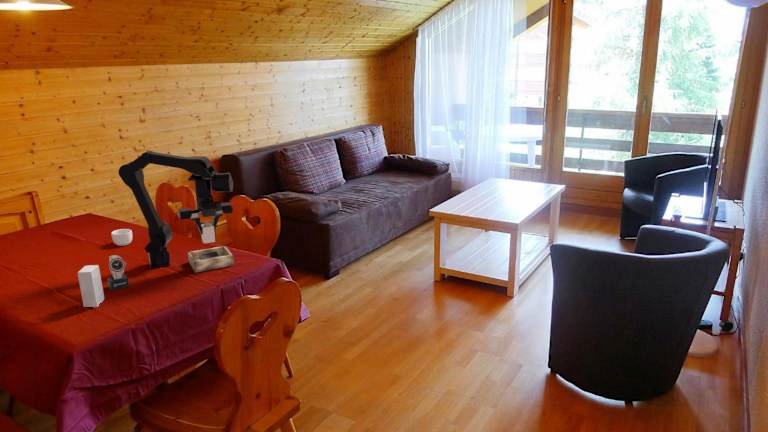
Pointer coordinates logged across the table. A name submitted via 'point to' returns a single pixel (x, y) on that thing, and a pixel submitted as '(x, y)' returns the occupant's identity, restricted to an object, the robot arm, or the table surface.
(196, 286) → the table surface
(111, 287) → the watch
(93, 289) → the skincare box
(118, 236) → the teacup
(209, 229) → the connector plug
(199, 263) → the socket box
